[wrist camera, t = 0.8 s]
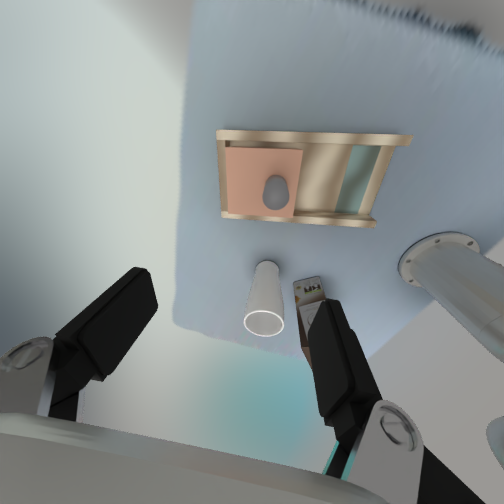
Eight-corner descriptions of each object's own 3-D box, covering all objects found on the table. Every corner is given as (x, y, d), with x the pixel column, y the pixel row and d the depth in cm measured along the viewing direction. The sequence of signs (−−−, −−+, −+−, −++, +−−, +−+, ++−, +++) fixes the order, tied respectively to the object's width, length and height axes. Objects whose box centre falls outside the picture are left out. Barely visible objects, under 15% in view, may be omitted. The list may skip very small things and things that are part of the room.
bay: (395, 136, 26) (413, 135, 23) (364, 219, 33) (374, 228, 30) (223, 131, 28) (216, 129, 25) (226, 210, 35) (221, 217, 32)
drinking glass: (247, 263, 41) (235, 317, 29) (273, 252, 39) (272, 305, 26) (262, 283, 44) (256, 340, 31) (287, 274, 42) (291, 331, 29)
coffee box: (291, 282, 43) (299, 346, 29) (319, 275, 41) (340, 341, 27) (302, 307, 47) (313, 374, 33) (327, 302, 45) (350, 371, 31)
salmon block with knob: (298, 148, 27) (311, 152, 17) (289, 206, 32) (296, 235, 22) (234, 146, 28) (210, 148, 18) (235, 202, 33) (217, 229, 23)
